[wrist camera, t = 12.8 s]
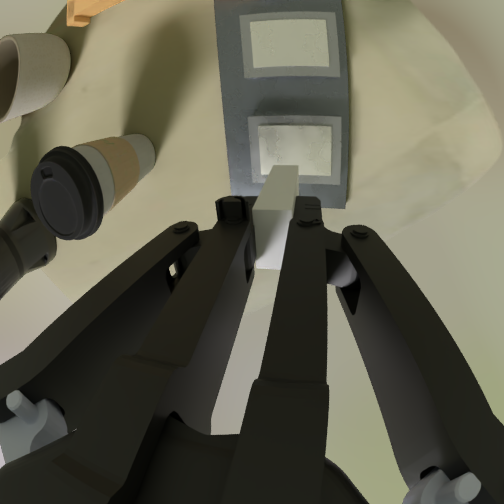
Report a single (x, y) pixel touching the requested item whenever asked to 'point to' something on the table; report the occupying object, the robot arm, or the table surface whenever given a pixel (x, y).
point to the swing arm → (86, 10)
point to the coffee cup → (88, 182)
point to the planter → (31, 72)
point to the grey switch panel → (285, 93)
